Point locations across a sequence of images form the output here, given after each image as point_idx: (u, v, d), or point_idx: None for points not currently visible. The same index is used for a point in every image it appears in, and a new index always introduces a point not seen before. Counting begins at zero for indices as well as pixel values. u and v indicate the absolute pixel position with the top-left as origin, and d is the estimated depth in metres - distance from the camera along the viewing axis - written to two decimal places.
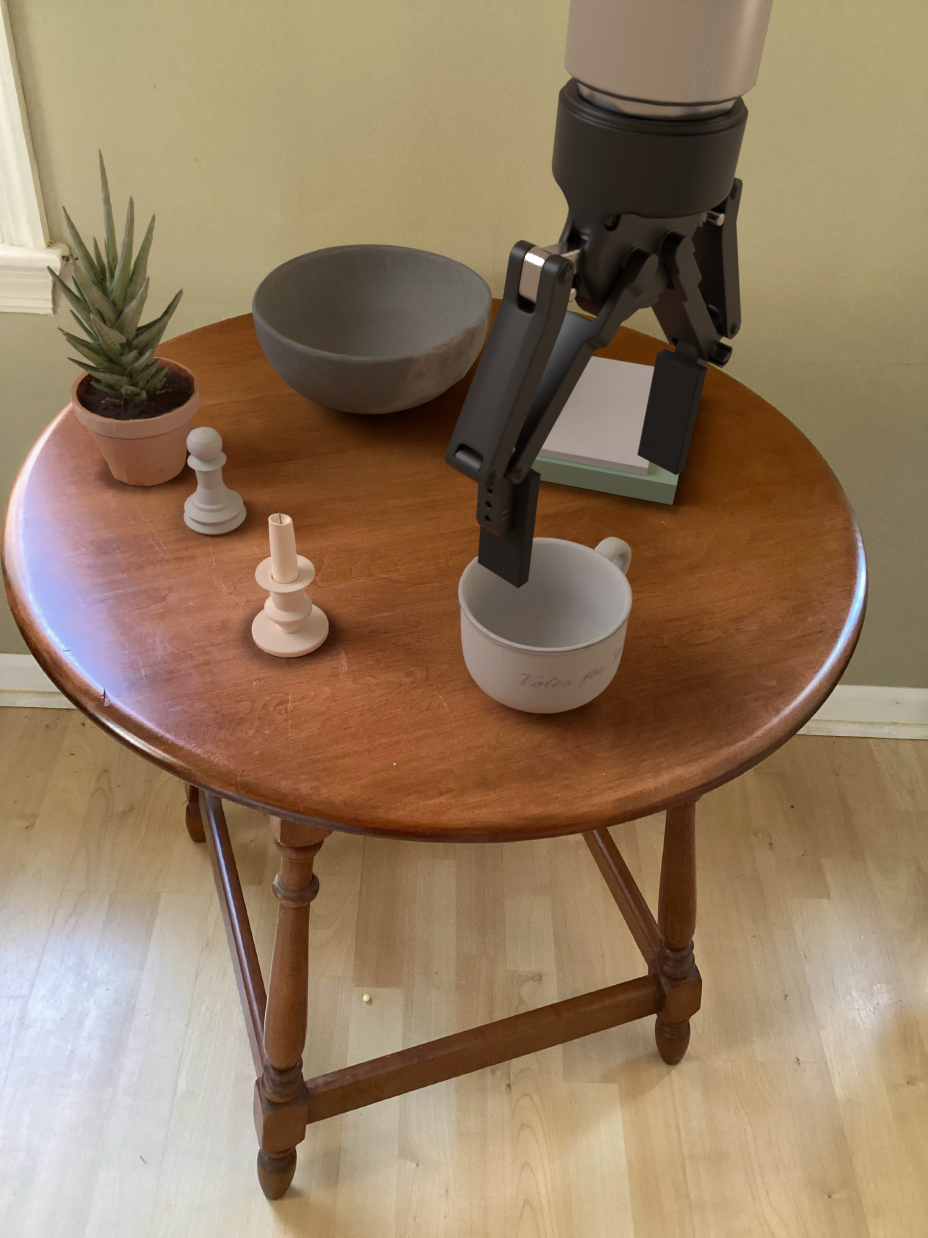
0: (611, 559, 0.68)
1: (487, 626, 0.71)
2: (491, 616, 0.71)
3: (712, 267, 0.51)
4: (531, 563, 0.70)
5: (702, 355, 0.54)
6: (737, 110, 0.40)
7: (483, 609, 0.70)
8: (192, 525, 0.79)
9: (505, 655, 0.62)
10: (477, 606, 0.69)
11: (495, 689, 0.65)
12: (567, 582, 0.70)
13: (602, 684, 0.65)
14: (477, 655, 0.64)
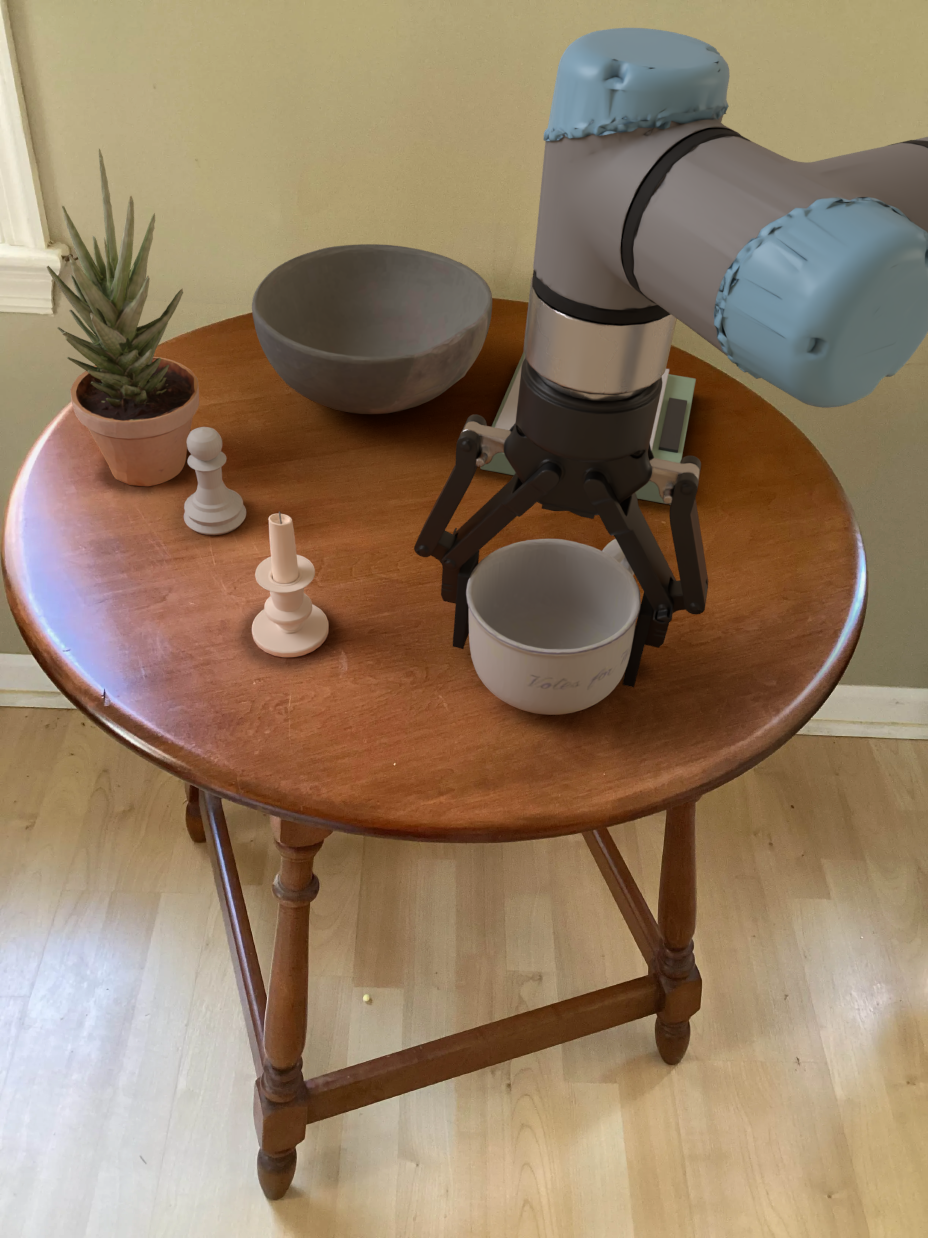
0: (619, 560, 0.68)
1: (495, 628, 0.71)
2: (498, 617, 0.71)
3: None
4: (539, 564, 0.70)
5: None
6: (600, 404, 0.53)
7: (491, 610, 0.70)
8: (192, 525, 0.79)
9: (513, 656, 0.62)
10: (485, 607, 0.69)
11: (503, 690, 0.65)
12: (574, 583, 0.70)
13: (610, 685, 0.65)
14: (485, 656, 0.64)
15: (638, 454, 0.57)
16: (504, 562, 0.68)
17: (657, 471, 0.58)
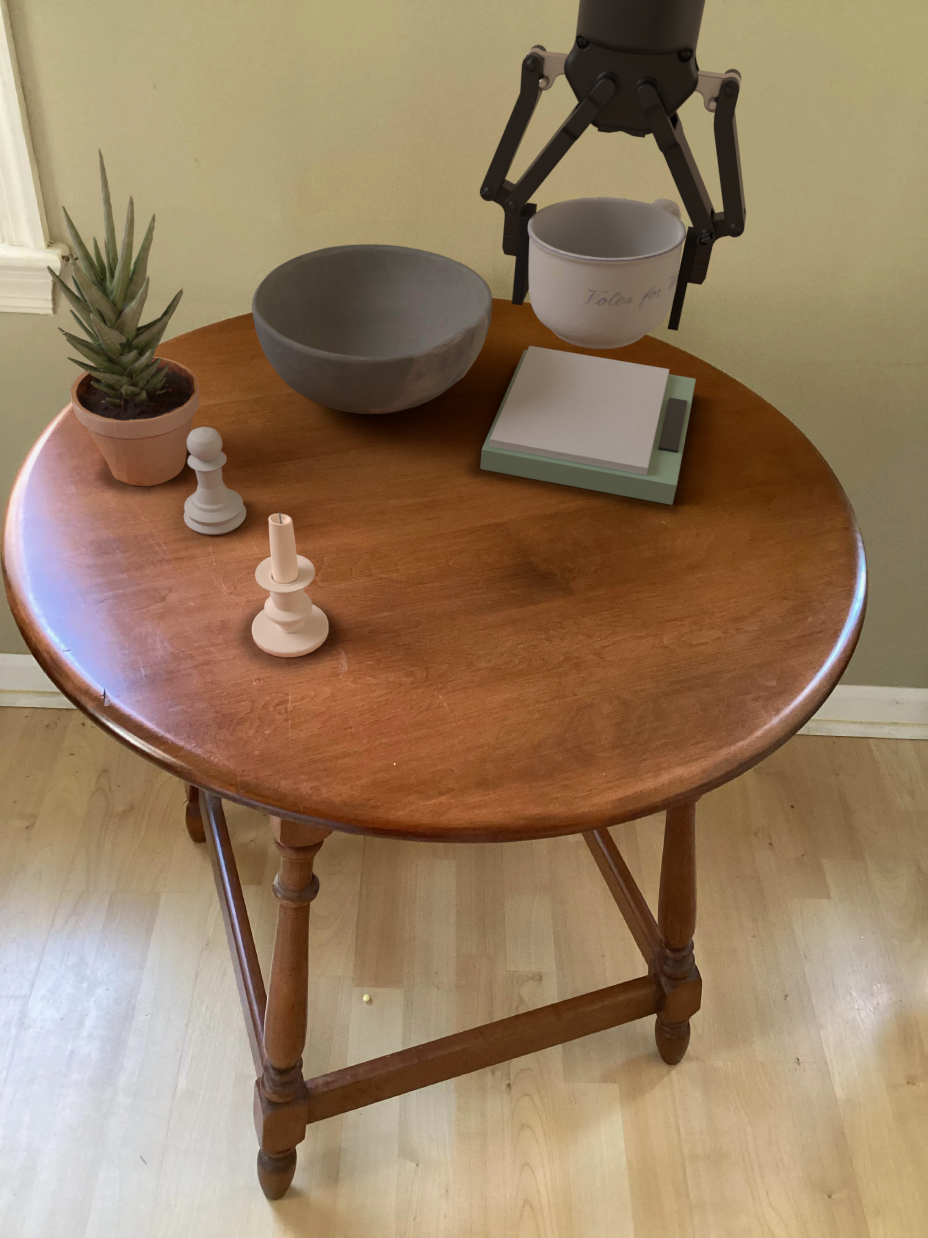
0: None
1: None
2: None
3: None
4: (590, 224, 0.76)
5: (695, 230, 0.71)
6: None
7: None
8: (192, 525, 0.79)
9: (573, 271, 0.69)
10: None
11: (562, 316, 0.72)
12: (622, 244, 0.77)
13: (659, 311, 0.72)
14: (546, 282, 0.71)
15: (686, 58, 0.64)
16: (559, 217, 0.75)
17: (703, 78, 0.65)
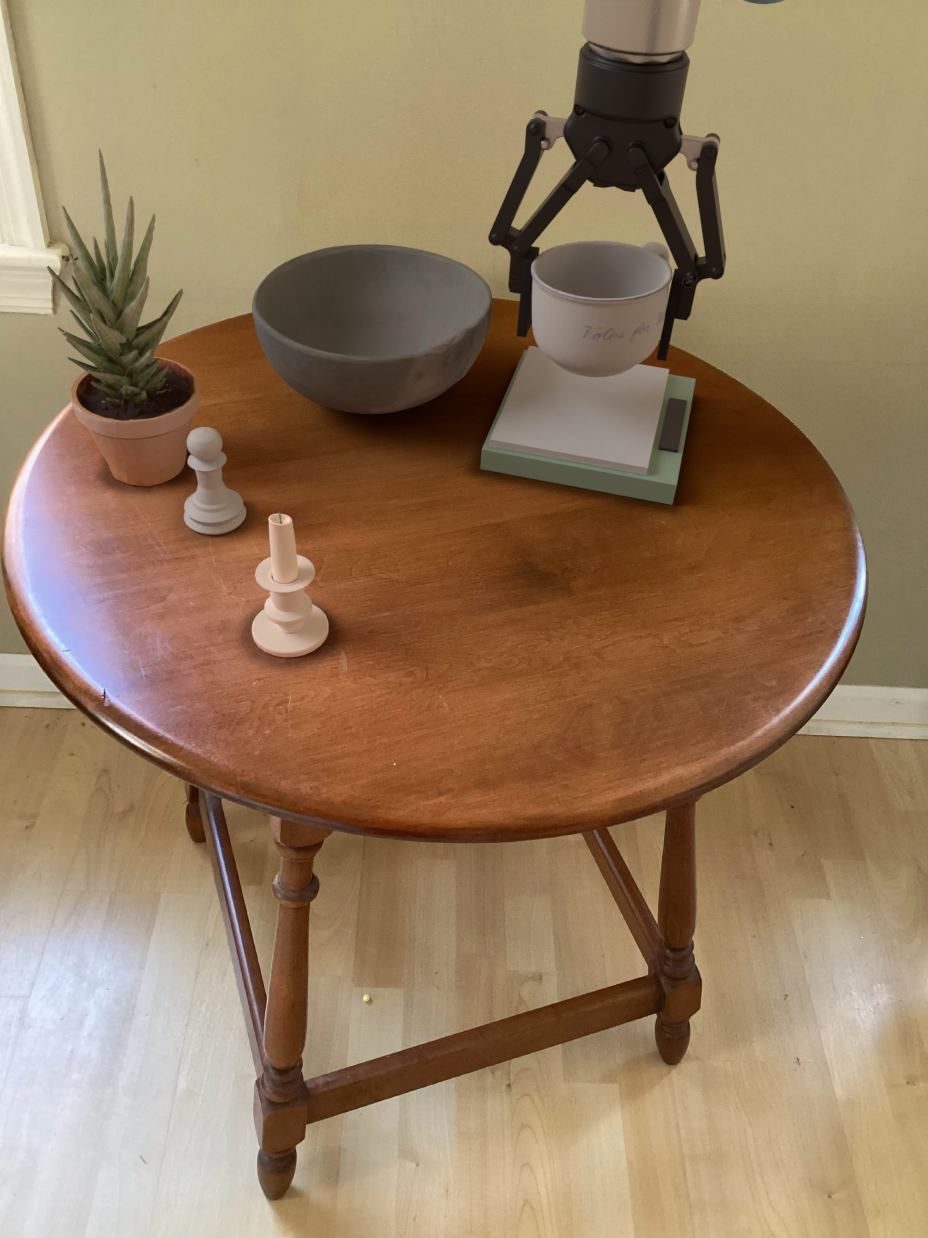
0: None
1: None
2: None
3: None
4: (587, 264, 0.85)
5: (680, 272, 0.79)
6: (643, 65, 0.68)
7: None
8: (192, 525, 0.79)
9: (571, 309, 0.78)
10: None
11: (561, 348, 0.80)
12: (616, 282, 0.86)
13: (648, 344, 0.80)
14: (547, 318, 0.80)
15: (671, 124, 0.72)
16: (559, 258, 0.84)
17: (686, 142, 0.73)
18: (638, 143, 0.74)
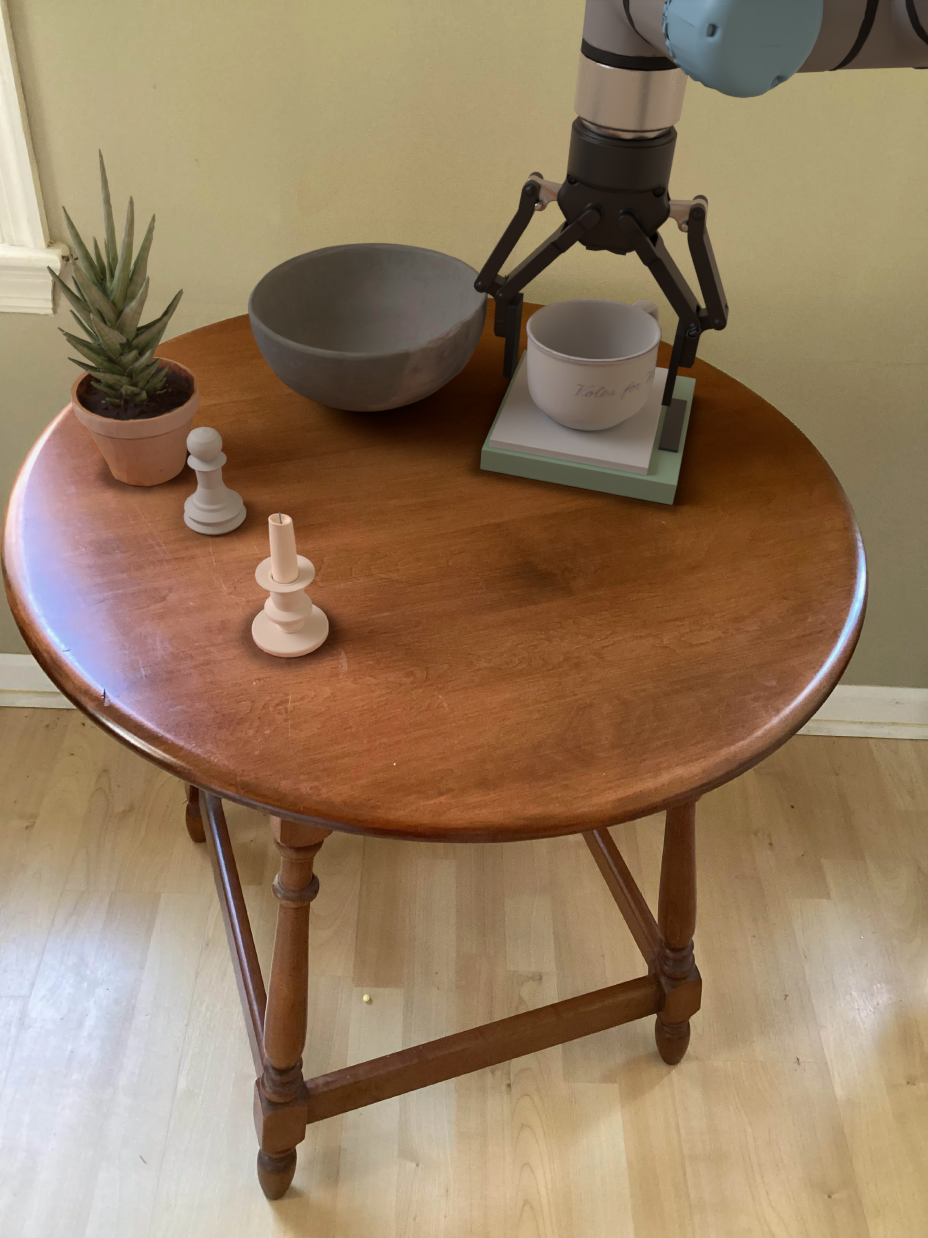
0: None
1: None
2: None
3: None
4: (580, 320, 0.88)
5: (684, 324, 0.82)
6: (632, 141, 0.72)
7: None
8: (192, 525, 0.79)
9: (564, 368, 0.81)
10: None
11: (555, 404, 0.83)
12: (608, 337, 0.89)
13: (638, 401, 0.84)
14: (541, 375, 0.83)
15: (659, 193, 0.76)
16: (554, 315, 0.87)
17: (674, 207, 0.77)
18: (627, 210, 0.77)
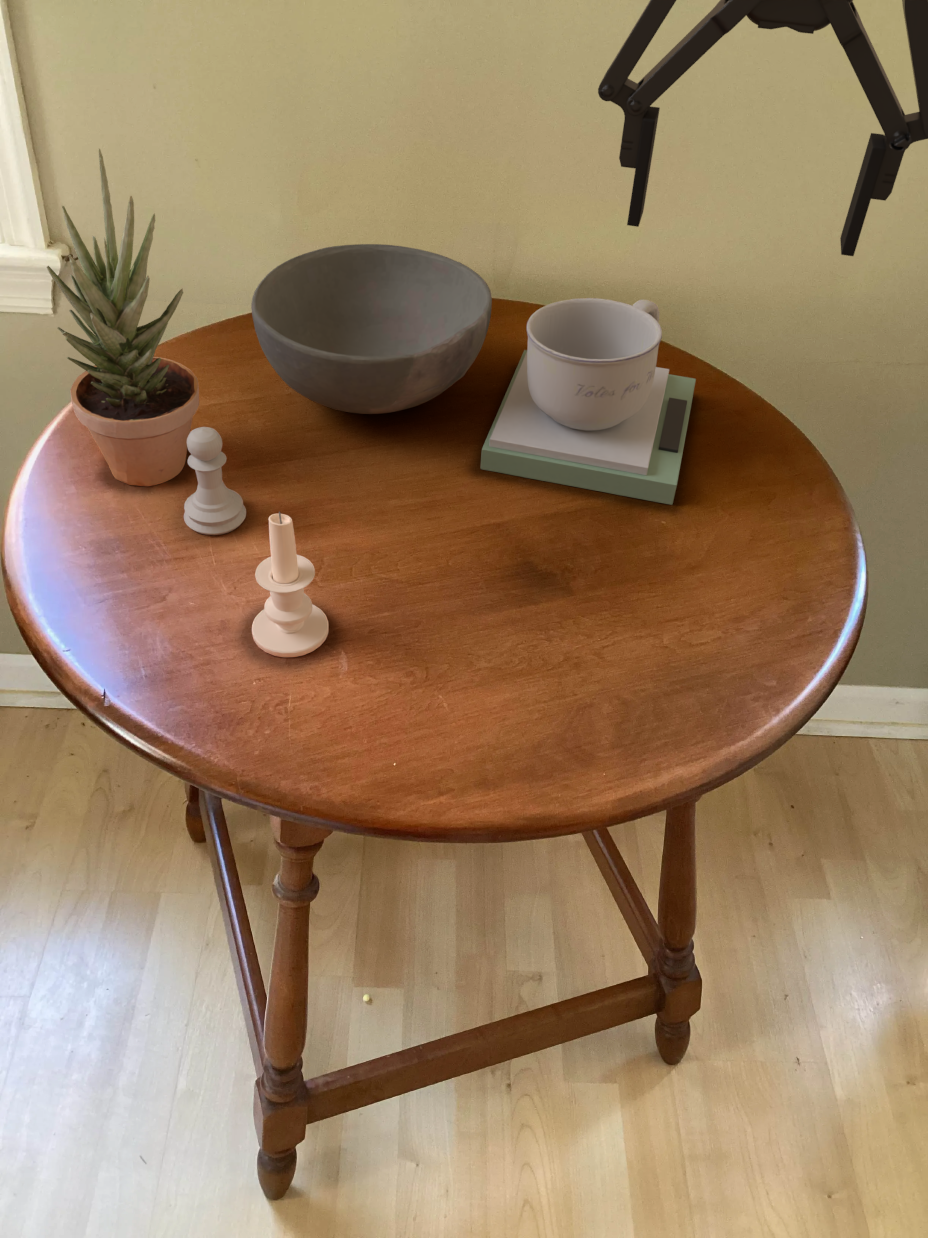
0: None
1: None
2: None
3: (909, 44, 0.58)
4: (580, 320, 0.88)
5: (885, 134, 0.61)
6: None
7: None
8: (192, 525, 0.79)
9: (565, 368, 0.81)
10: None
11: (555, 404, 0.83)
12: (608, 337, 0.89)
13: (638, 401, 0.84)
14: (541, 375, 0.83)
15: None
16: (554, 315, 0.87)
17: None
18: None
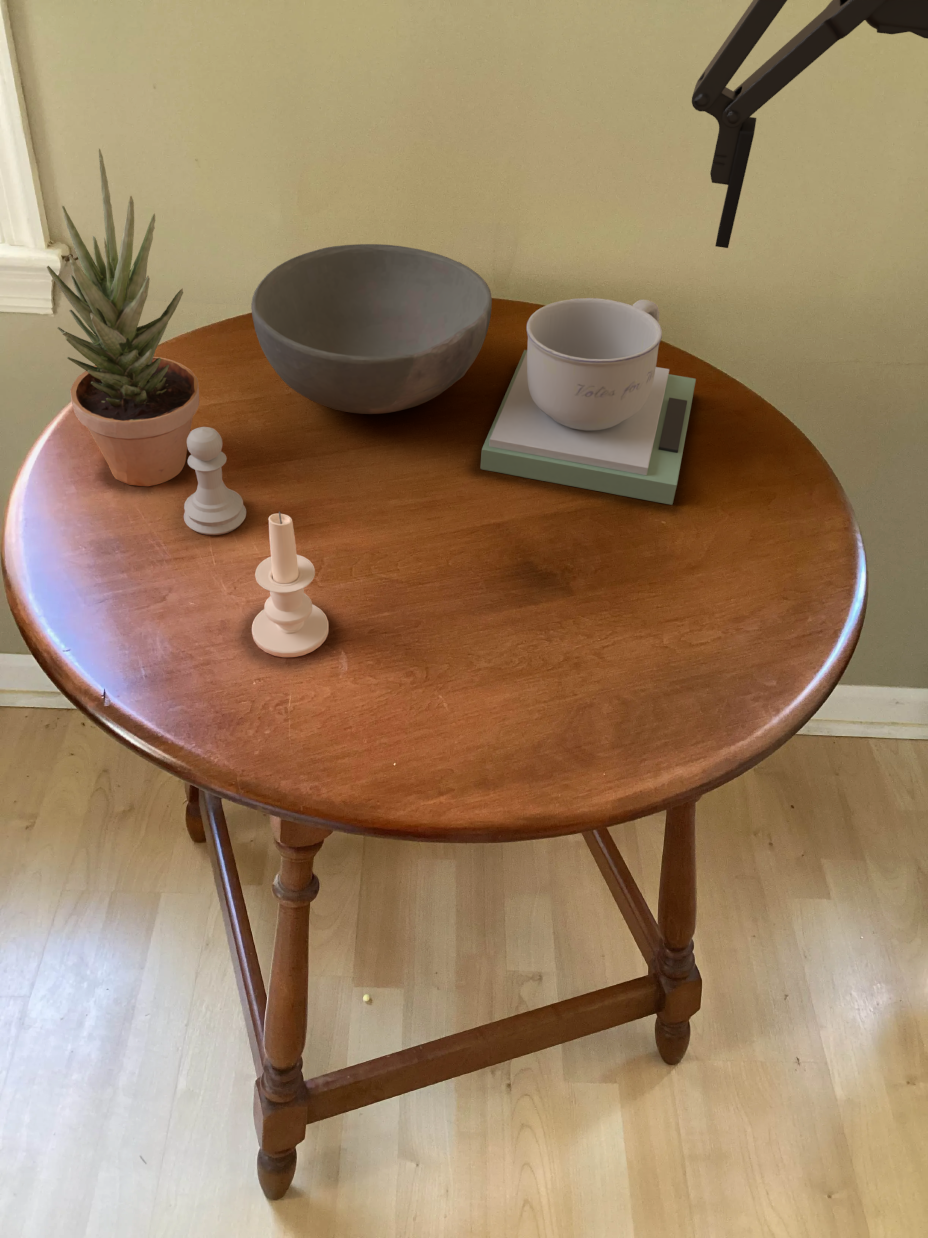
0: None
1: None
2: None
3: None
4: (580, 320, 0.88)
5: None
6: None
7: None
8: (192, 525, 0.79)
9: (565, 368, 0.81)
10: None
11: (555, 404, 0.83)
12: (608, 337, 0.89)
13: (638, 401, 0.84)
14: (541, 375, 0.83)
15: None
16: (554, 315, 0.87)
17: None
18: None
